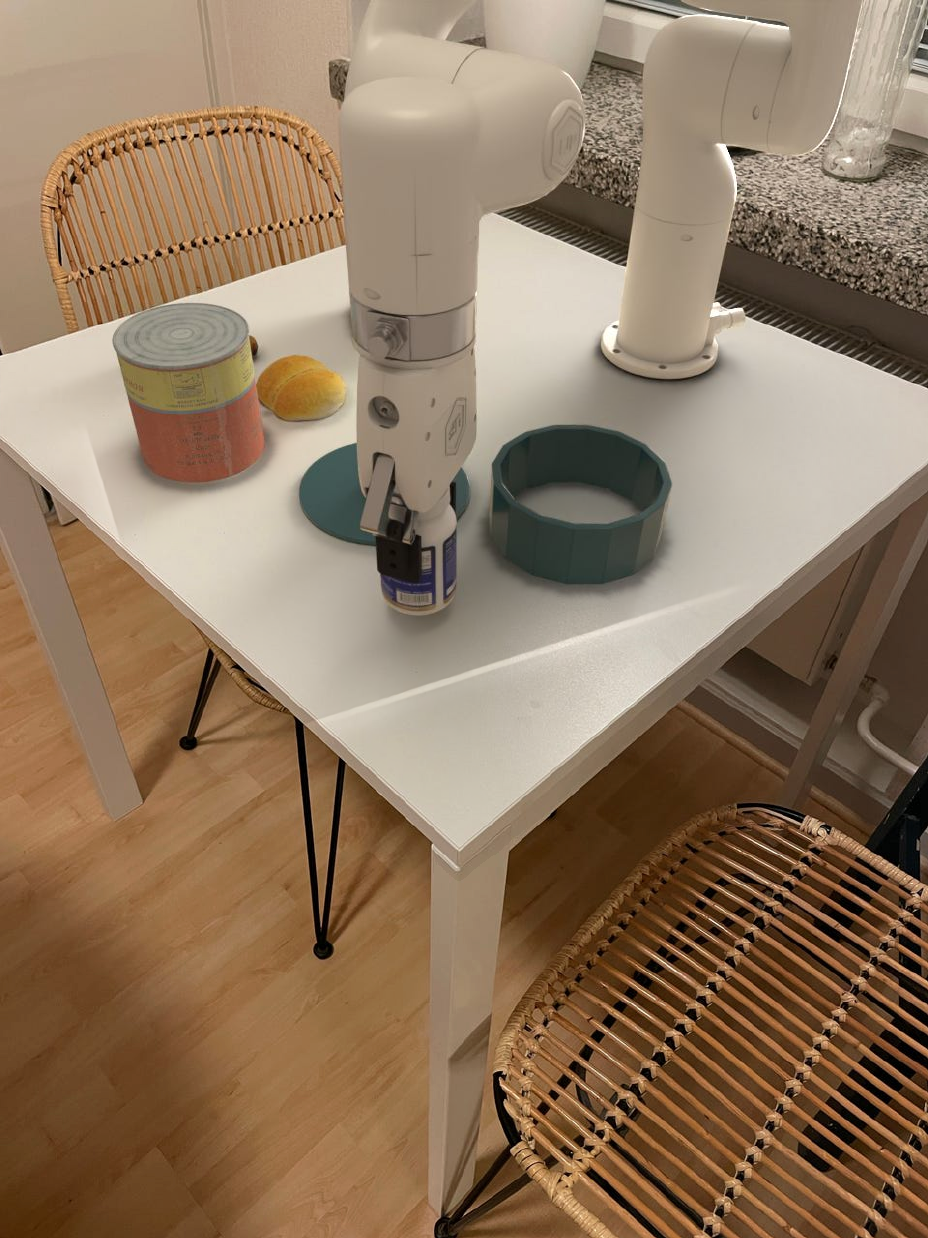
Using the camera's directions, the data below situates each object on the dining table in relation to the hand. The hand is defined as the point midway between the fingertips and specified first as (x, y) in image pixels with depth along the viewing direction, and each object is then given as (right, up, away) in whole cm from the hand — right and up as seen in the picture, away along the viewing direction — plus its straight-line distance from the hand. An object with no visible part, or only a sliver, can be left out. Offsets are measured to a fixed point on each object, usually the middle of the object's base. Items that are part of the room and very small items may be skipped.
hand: (417, 546), depth 69 cm
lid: (-4, +6, +15) cm, 16 cm away
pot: (+13, +2, +12) cm, 18 cm away
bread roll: (-13, +16, +26) cm, 34 cm away
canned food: (-21, +10, +20) cm, 31 cm away
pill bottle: (0, -3, +3) cm, 5 cm away
